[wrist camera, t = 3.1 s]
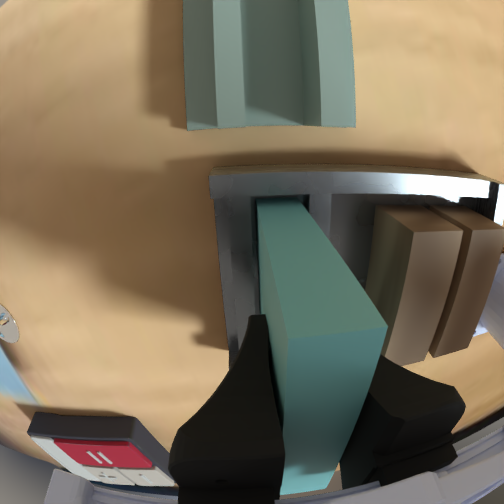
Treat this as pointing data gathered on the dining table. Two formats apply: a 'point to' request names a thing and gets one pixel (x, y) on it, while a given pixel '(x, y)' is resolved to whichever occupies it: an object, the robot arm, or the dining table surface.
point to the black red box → (103, 448)
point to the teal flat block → (313, 340)
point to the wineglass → (8, 326)
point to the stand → (268, 63)
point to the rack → (325, 215)
